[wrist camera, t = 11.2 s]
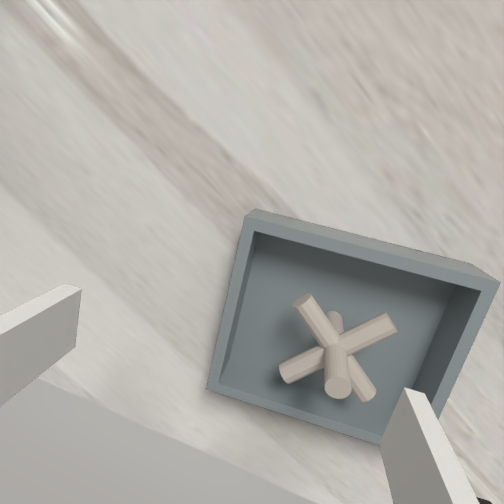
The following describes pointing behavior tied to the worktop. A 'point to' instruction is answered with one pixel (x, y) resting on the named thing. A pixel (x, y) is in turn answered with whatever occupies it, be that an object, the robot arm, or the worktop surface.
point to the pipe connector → (336, 350)
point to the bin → (344, 320)
